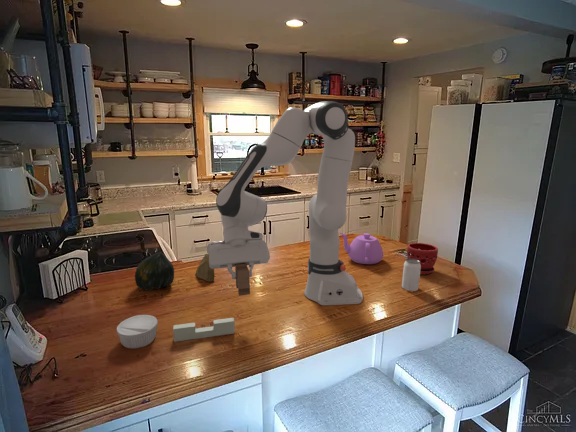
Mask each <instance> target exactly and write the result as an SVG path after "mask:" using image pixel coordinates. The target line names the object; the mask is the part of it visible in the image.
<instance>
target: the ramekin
mask: <svg viewBox="0 0 576 432" xmlns="http://www.w3.org/2000/svg"><path fill="white" fill-rule="evenodd" d="M158 325H159V323H158V319H157V317H156V316H153V315H150V314H137V315H134V316H131V317H129V318H126V319H124V320H122V321H121V322H120V323H119V324H118V325H117V326H116V334H117V335H118V338H119V340H120V343H121V345H122V346H124V347H125V348H127V349H139V348H144V347H146V346H148V345H150V344H151V343H152V342H153V341H154V339H155V338H156V337H157V329H158V328H157V327H158Z"/></svg>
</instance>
